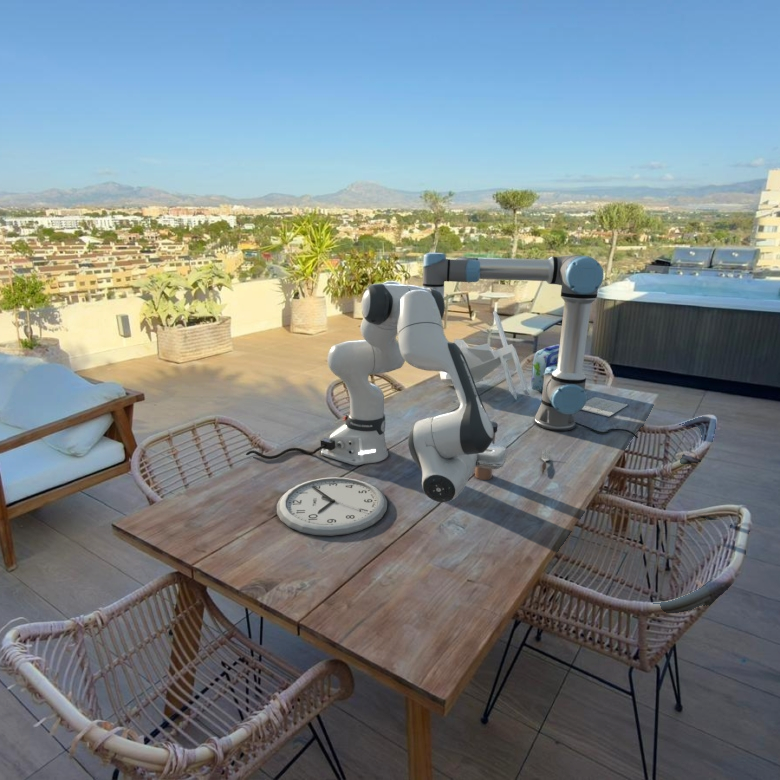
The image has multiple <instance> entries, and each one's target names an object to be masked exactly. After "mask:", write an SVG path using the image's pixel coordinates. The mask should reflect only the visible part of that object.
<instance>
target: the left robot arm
mask: <svg viewBox="0 0 780 780" xmlns="http://www.w3.org/2000/svg"><path fill="white" fill-rule="evenodd" d="M360 303H361V304H360V305H361V313H362V317H363V318H362V319H361V322H360V326H359V327H360V334H361V336H362V338H363V339H359V340H347V341H343V342H340V343H337V344H334V345H332V346H331V348H330V349H329V350H328V353H327V357H326V359H327V366H328V368H329V370H330V371H331V372H332V373H333V375H334V376H336V377H338V378H339V379H340V380H341V381H342V382H343V383H344V385H345V387H346V389H347V391H348V397H349V411H348V413H347V414H345V416H344V417H343V418H342V422H345V423H344V424H342V425H341V426H339V427H337V429H335V430H333V432H331V434H330V435H329V437H324V438H322V439H320V446H319V447H316V448H315V449H313V450H312V451H310V450H306V449H304V448H300V447H290V448H286V449H284V450H282V451H280V452H279V453H277V454H275V455H265V454H263V453H261V452H260V451H257V450H255V449H253V450H252V449H251V450H249V451H247V452H246V453H245V455H246V456H250V455H251V454H255V455H257V456H259V457H261V458H263V459H266V460H272V459H276V458H277V459H278V458H279V457H282V456H283V455H285V454H287V453H289V452H293V451H294V452H295V451H296V452H301V453H304V454H307V455H314V454H316V453H317V452H320V455H321V456H323V457H326V458H329V459H332V460H336V461H339V462H342V463H345V464H349V465H352V466H361V465H366V464H373V463H379V462H382V461H384V460H386V459H387V458H388V457H389V451H388V448H387V443H386V437H385V436H386V434H385V431H386V414H385V394H384V391H383V389H382V388H381V387H380V386H378V385H377V384H374V383H371V382H370V381H369V376H370V375H377V374H385V373H386V374H387V373H391V372H393V371H397V370H399V369H401V368H403V366H404V364H405V362H406V363H407V364H408V365H410V366H411V367H413V368H416V369H418V370H422V371H427V372H439V371H440V372H446V373H449V375H450V376H451V379H452V382H453V384H452V385H453V388H454V390H455V391H454V392H455V393H456V396H457V399H458V401H459V407H458V408H457V409H456V410H453V411H450V412H446V413H442V414H438V415H434V416H430V417H427V418H423V419H420V420H416V421H415V422H414V423H413V425H412V427H411V429H410V431H409V435H408V438H407V439H408V442H407V443H408V444H407V445H408V450H409V452H410V455H411V458H412V460H413V462H414V463H415V464H416V466H417V467H418V468H419V469H420V471H421V475H422V476H421V487H422V490H423V493H424V494H425V496H426V497H428V498H429V499H430V500H432V501H433V502H434V501H435V502H438V503H449V502H451V501H453V500H455V499H456V498H458V496H459V495H460V494H461V493H462V492H463V490H464V489H465V487H467V484H468V482H469V479H470V478H471V477H472V475H473V473H475V468H476V467H481V468H487V469H492V470H498V469H500V468H503V467H504V465H505V463H506V461H507V458H508V449H507V447H506V446H504V445H500V444H499V445H498V444H495V443H494V444H493V443H492V440H493V438H494V432H493V426H492V423H491V421H492V420H491V419H490V417H489V415H488V413H487V411H486V409H485V406H484V404H483V402H482V399H481V396H480V394H479V391H478V388H477V385H476V383H474V380H473V377H472V374H471V372H470V369H469V367H468V364H467V362H466V359H465V357H464V355H463V353H462V351H461V350H460V348H459V347H458V346H457V345H456V344H455V343H454V342H452V341H449V340H448V338H447V337H446V334H445V330H444V324H443V318H444V315H445V311H446V310H445V309H446V308H445V307H446V303H445V299H444V297H443V296H442V295H441V293H440V292H439V291H437V290H434V289H431V288H423V286H418V285H413V284H402V283H400V282H398V281H394V280H387V281H385V282H381V283H373V284H370V285H368V286H367V287H366V288H365V289H364V292H363V294H362V298H361V302H360ZM440 372H439V373H440Z"/></svg>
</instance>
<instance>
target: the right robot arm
mask: <svg viewBox="0 0 780 780" xmlns="http://www.w3.org/2000/svg"><path fill="white" fill-rule="evenodd" d="M422 264H423V265H422V287H423V288H431V289H434V290H437V291H439V292H440V293H441V295H442V296H443V298H444V297H445V282H447V283H449V282H452V283H453V282H457V283H468V284H470V283H477V282H479V281H480V280H495V281H497V280H499V281H500V280H501V281H526V282H527V281H531V282H546V283H547V284H548V285H557V286H561V289H560V298H561V299H562V300H563V303H564V305H563V313H562V322H561V330H560V339H559V345H560V346H559V355H558V364H557V366H553V367H547V368H546V369H545V373H544V382H543V392H542V391H541V393H542V394H541V402H540V405H539V407H538V410H537V411H536V413H535V416H534V424H535V425H536V426H537V427H539V428H542V429H544V430H549V431H556V432H567V431H572V430H574V429H575V428H576V425H577V426H580V427H583V428H585V429H587V430H591V431H593V432H595V433H597V434H607V433H609V432H611V431H618V432H625V433H629V434H631V435H632V436H634V438H636V439H639V437H638V435H637V434H636V433H634V432H633V431H632V430H629V429H626V428H609V429H607V430H605V431H600V430H597V429H595V428H593V427H591V426H587V425H586V424H582V423H580V422H577V421H576V418H575V417H576V416H575V414H576V413H579V412H580V411H582V410H581V409H582V408H583V407H584V406H585V404H586V401H588V397H587V392H586V389H585V388H586V383H587V382H586V381H587V375H586V374H585V373H584V371H583V369H584V361H585V355H586V347H587V339H588V338H587V337H588V330H589V324H590V318H591V317H590V316H591V308H592V303H593V302H594V301H596V300H597V298H598V294H599V293H598V291H599V288H601V285H602V284H603V281H604V269H603V267H602V265H601V264H600V262H599V261H597V260H596V259H595V258H594V257H592V256H587V255H581V254H574V255H573V254H572V255H565V256H551V257H549V258H548V259H545V258H544V259H543V258H542V259H541V258H540V259H539V258H501V257H500V258H497V257H496V258H495V257H494V258H492V257H466V256H460V257H457V258H455V259H451V258H449V259H448V258H447V257H446V253H444V252H427V253H425V254H424V255H423V263H422Z"/></svg>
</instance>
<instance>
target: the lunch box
mask: <svg viewBox="0 0 780 780" xmlns="http://www.w3.org/2000/svg"><path fill="white" fill-rule="evenodd" d="M559 346H560V344H554V345H550V346H547V347H544V348H542V349H541V348H540V349H539V350H537V351H536V352H535V353H534V356H533V360H532V367H531V368H532V369H531V382H530V383H531V386H530V387H531V389H532V390H533V391H537V392H541V393H542V392H543V382H544V373H545V369H546V368H547V367H553V366H557V364H558V355H559Z"/></svg>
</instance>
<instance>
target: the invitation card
mask: <svg viewBox="0 0 780 780" xmlns="http://www.w3.org/2000/svg"><path fill="white" fill-rule="evenodd" d="M628 406H629V404H627V403H623V402H618V401H614V400H609V399H605V398H601V397H596V396H593V397H592V398H590V399H587V401H586V404H585V406H584V407H583V408H582V409H581V410H580V411H584V412H587V413H593V414H596V415H600V416H604V417H608V418H609V417H611V416H613V415H614V414H616V413H617V412H619V411H621V410H623V409H624V408H626V407H628Z"/></svg>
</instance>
